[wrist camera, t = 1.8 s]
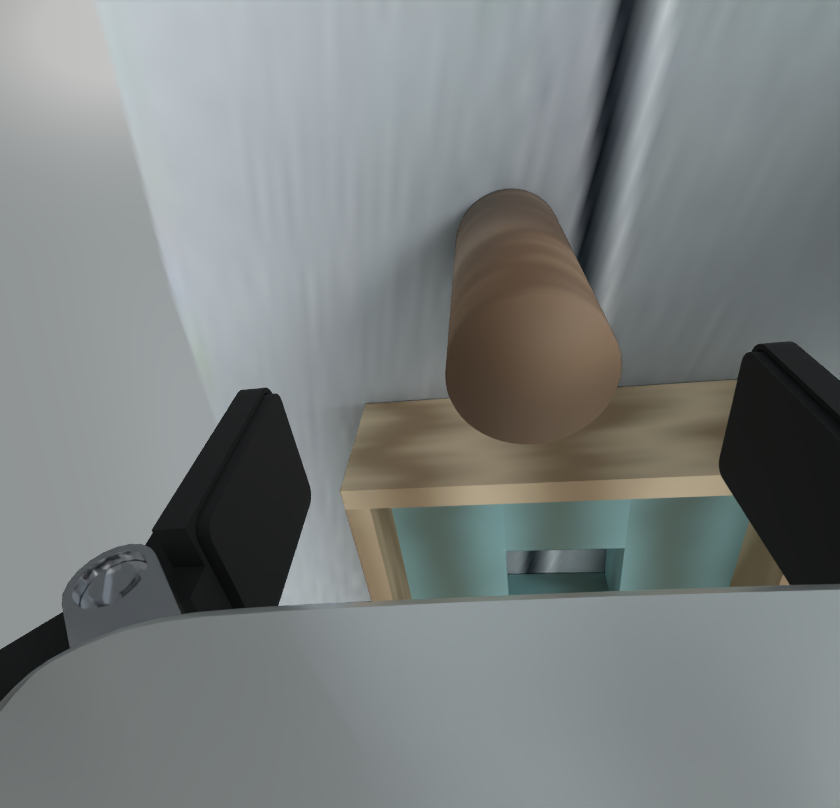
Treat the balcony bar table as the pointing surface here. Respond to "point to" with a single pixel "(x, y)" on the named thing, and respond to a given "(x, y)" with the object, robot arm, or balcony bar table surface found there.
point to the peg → (525, 326)
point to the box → (551, 500)
